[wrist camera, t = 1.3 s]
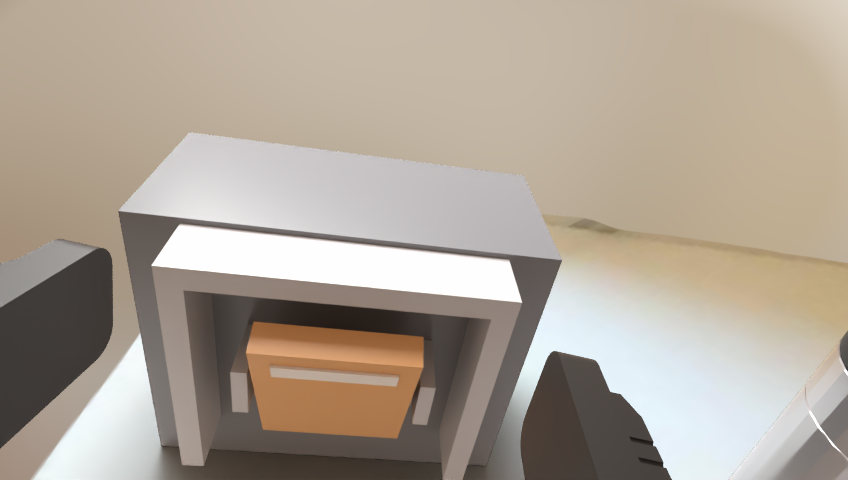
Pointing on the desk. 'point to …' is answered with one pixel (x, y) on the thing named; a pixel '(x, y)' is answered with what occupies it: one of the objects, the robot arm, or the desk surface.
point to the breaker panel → (333, 288)
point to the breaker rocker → (333, 379)
